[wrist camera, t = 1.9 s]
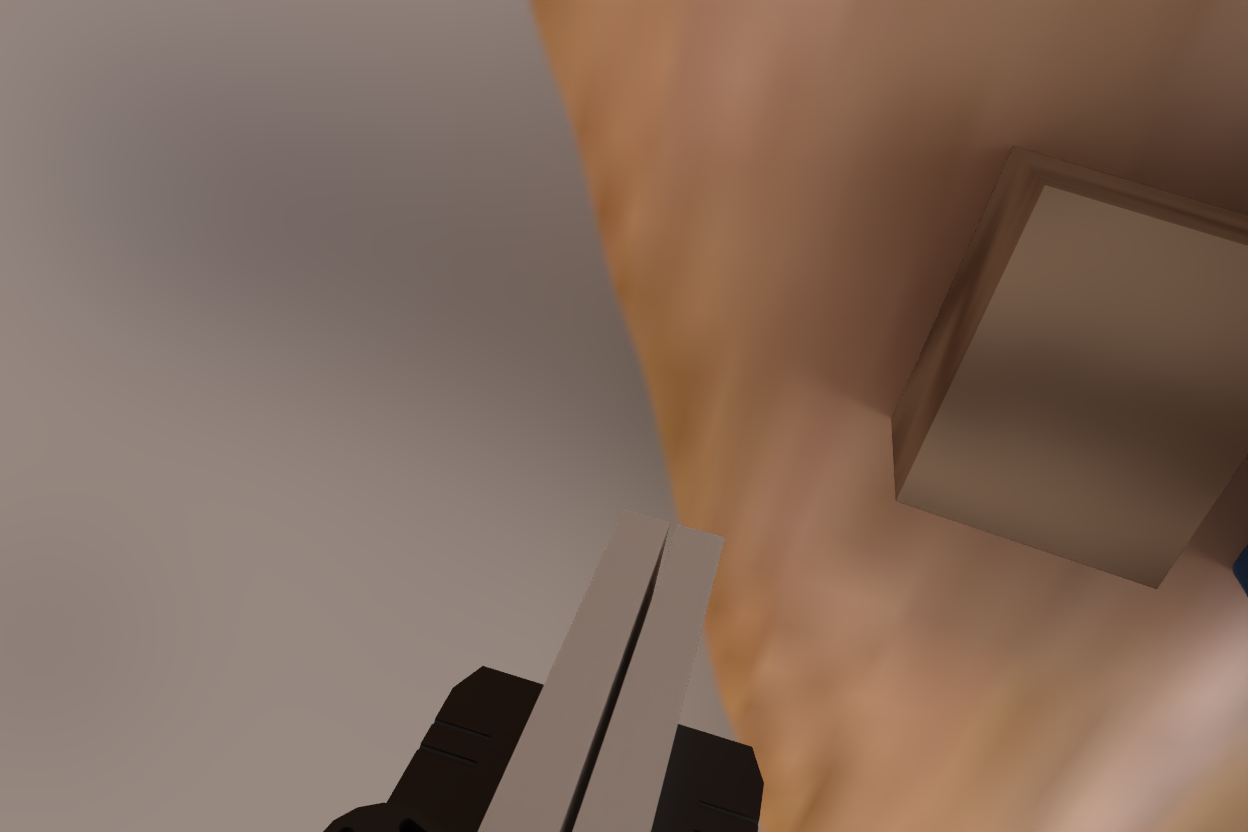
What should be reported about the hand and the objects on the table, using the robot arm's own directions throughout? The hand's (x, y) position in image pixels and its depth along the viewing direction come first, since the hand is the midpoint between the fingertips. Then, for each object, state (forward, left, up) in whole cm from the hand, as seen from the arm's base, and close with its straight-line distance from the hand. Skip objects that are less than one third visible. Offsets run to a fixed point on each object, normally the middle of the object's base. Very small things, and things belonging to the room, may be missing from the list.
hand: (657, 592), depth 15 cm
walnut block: (0, +10, -20) cm, 22 cm away
